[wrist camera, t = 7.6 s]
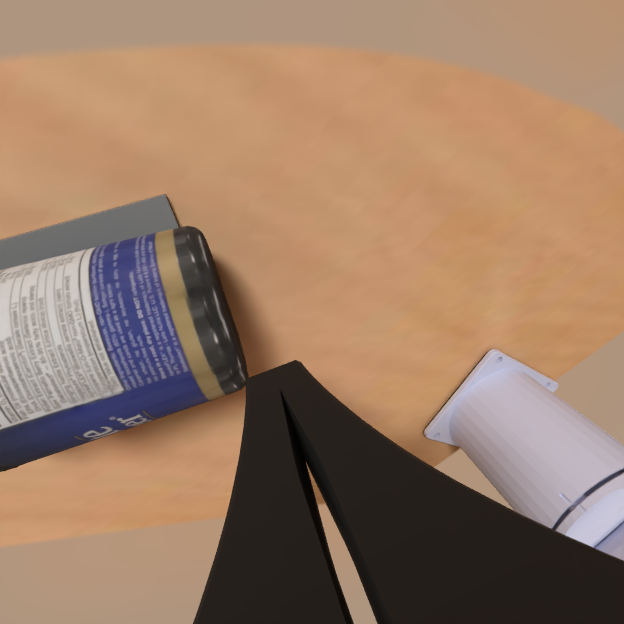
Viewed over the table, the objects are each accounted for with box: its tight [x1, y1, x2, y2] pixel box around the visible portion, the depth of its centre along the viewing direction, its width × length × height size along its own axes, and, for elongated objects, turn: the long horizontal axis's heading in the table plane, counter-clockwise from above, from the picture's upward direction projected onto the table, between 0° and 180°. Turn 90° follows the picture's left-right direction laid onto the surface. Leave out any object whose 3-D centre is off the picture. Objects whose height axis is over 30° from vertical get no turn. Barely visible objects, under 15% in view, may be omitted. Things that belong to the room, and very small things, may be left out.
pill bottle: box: [0, 226, 249, 472], centre depth 12 cm, size 6×6×11 cm
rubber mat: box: [0, 194, 179, 270], centre depth 15 cm, size 11×8×1 cm
